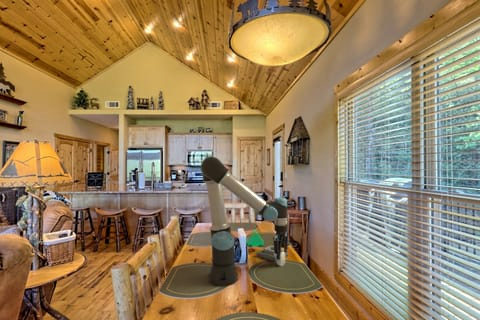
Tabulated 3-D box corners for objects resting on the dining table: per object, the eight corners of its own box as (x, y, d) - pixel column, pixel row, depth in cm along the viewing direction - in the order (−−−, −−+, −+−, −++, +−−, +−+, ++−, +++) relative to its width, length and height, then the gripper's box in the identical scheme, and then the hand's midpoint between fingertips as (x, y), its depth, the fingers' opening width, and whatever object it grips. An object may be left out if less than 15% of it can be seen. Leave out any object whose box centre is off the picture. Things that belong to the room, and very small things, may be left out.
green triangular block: (262, 243, 192) (262, 229, 192) (263, 246, 184) (263, 232, 184) (246, 243, 192) (246, 229, 192) (247, 246, 184) (247, 232, 184)
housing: (275, 262, 156) (275, 254, 156) (257, 256, 165) (257, 248, 165) (287, 255, 166) (287, 247, 166) (269, 250, 175) (269, 243, 175)
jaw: (281, 266, 149) (281, 249, 149) (276, 265, 151) (276, 248, 151) (285, 264, 151) (285, 248, 151) (280, 263, 154) (280, 246, 154)
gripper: (278, 228, 143) (278, 270, 143) (293, 222, 155) (293, 261, 155) (267, 225, 148) (267, 266, 148) (282, 220, 160) (283, 258, 160)
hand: (281, 263), depth 151 cm, fingers closed on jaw, 3 cm apart
